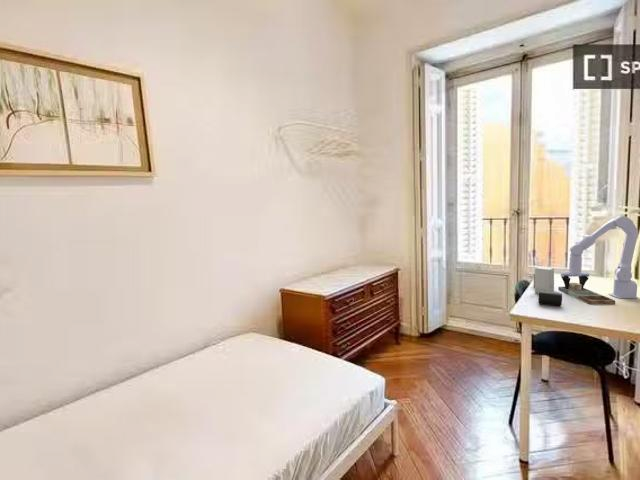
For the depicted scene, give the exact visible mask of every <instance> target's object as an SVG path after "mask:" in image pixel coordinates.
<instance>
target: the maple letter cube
mask: <svg viewBox="0 0 640 480" xmlns="http://www.w3.org/2000/svg"><path fill="white" fill-rule="evenodd" d="M581 288H582V285H581V284H579V282H569V289H567V290H581Z"/></svg>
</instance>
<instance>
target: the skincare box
mask: <svg viewBox="0 0 640 480" xmlns="http://www.w3.org/2000/svg"><path fill="white" fill-rule="evenodd" d="M534 274H535V287H534V293H535V294H539V291H547V292H555V268H554V267H545V266H544V267H543V266H537V267H535V268H534Z"/></svg>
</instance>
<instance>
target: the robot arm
mask: <svg viewBox="0 0 640 480" xmlns="http://www.w3.org/2000/svg"><path fill="white" fill-rule="evenodd" d="M617 228H619V229H621V230H622V231H623V232H624V234H625V237H624V241H623V246H622V252H621V255H620V259H619V262H618V266H617V267H616V268H615V269H614V274H615V278H614V279H613V291H612V292H613V293H608V295H610V296H612V297H615V298H617V299H638V298H639V297H638V296H637V295H638V293H637V292H638V284H637V282H636V281H635V280H632V278H633V274H632V263H633V258H634V253H635V249H636V244H637V241H638V236H639V230H638V228H637V227H636V225H635V223H634V220H632V219H631V218H629V217H627V216H625V215H623V214H622V215H621V214H619V215H617V216H615V217H614V218H612V219H610V220H609V221H607V222H605V223H604V224H603V225H602V226H600V227H599V228H598V229H597V230H595V231H594V232H593V233H592V234H586V235H583V236H582V238H581V239H580V240H578V241H576V242H575V243H574V244H573V245H571V246H570V248H569V251H570V254H569V255H570V257H569V268H568V271H567V272H560V277H561V280H562V282H563V283H564V287H565V288H566V289H569V283H571V280H572V279H571V277H573V278H574V277H575V278H576V277H578V281H579V282H578V283H579V284H581V285H582V288H581V289H583V288H585V284H586V282H587V281H588V280H589V277H590V273H589V272H582V266H583V265H582V264H583V263H582V262H583V256H582V255H583V253H584V251H586V250H588V249H589V248H590V247H592V246H593V245H594V244H596V242H597V239H598V238H600V237H601V236H603V235H604V234H605V233H607V232H609V231H610V230H616V229H617Z"/></svg>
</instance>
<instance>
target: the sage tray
mask: <svg viewBox="0 0 640 480" xmlns="http://www.w3.org/2000/svg"><path fill="white" fill-rule="evenodd" d="M567 295H568V296H571V297H573V298H575V299H577V300H579V296H603V295H602V294H600V293H598V292H595V291H592V290H590V291H568V294H567Z"/></svg>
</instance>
